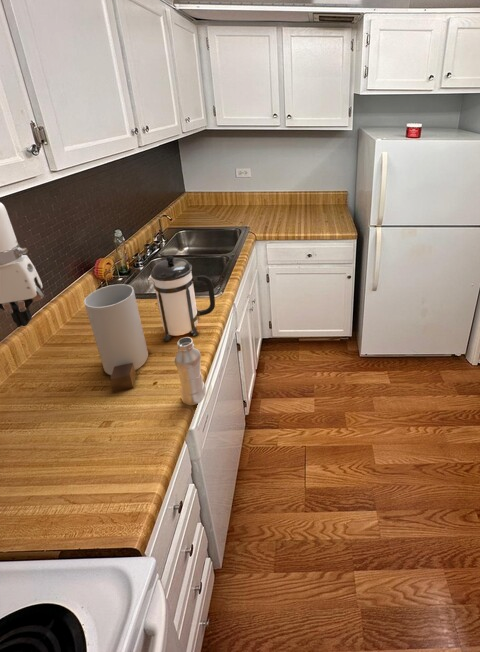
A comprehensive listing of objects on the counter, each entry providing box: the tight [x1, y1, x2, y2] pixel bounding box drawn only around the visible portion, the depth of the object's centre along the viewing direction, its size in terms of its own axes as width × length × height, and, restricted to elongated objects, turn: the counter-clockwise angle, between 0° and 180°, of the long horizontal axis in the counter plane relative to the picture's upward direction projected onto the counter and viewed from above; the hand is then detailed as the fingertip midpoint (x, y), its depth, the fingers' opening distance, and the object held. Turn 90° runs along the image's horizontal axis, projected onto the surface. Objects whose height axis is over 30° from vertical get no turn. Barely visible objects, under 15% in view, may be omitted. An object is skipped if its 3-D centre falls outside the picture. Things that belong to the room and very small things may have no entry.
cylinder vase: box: [83, 283, 149, 376], centre depth 101 cm, size 12×12×25 cm
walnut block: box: [109, 363, 137, 393], centre depth 97 cm, size 5×5×5 cm
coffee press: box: [147, 254, 216, 342], centre depth 116 cm, size 17×16×30 cm
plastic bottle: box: [174, 336, 207, 406], centre depth 89 cm, size 6×7×20 cm
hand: (24, 323), depth 81 cm, fingers closed
